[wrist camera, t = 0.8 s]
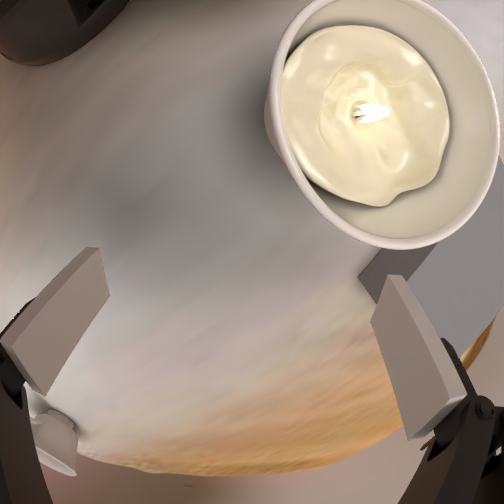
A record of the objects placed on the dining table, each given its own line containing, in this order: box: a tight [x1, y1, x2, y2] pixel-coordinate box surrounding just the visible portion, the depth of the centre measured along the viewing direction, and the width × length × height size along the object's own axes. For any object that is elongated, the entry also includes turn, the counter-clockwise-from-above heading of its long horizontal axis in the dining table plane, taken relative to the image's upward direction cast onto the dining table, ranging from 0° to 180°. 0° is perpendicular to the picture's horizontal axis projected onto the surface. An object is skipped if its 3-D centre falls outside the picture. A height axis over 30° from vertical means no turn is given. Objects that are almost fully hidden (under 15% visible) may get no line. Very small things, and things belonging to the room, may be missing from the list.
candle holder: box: [264, 0, 500, 250], centre depth 12 cm, size 10×10×12 cm
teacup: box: [30, 409, 78, 476], centre depth 29 cm, size 12×15×10 cm
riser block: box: [358, 156, 504, 358], centre depth 21 cm, size 16×16×5 cm
